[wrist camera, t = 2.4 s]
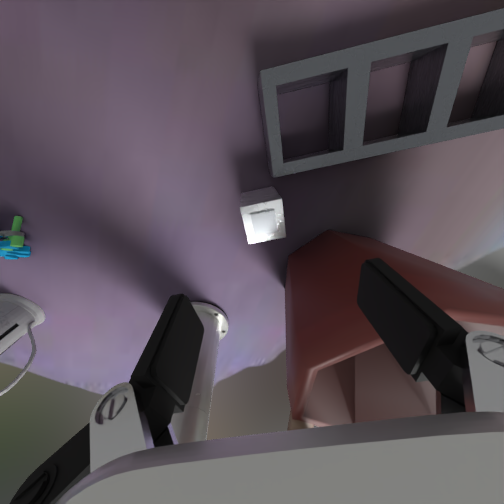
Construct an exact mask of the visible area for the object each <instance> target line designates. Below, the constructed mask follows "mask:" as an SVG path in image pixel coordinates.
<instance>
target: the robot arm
mask: <svg viewBox="0 0 504 504" xmlns="http://www.w3.org/2000/svg"><path fill="white" fill-rule="evenodd" d="M357 304H358V306H359V308H360V309H361V311H362V312H363V314H364V315H365V316H366V318H367V319H368V321H369V322H370V324H371V325H372V326H373V328H374V329H375V331H376V332H377V333H378V335H379V336H380V338H381V339H382V341H383V342H384V343H385V345H386V346H387V348H388V349H389V351H390V352H391V353H392V355H393V356H394V358H395V359H396V361H397V362H398V363H399V365H400V366H401V368H402V369H403V370H404V372H405V373H406V374H408V375H411V376H412V378H413V379H414V380H415V382H422V381H429V382H430V383H431V384H432V386H433V387H434V388H435V389H436V415H426V416H415V417H406V418H396V419H387V420H378V421H369V422H360V423H351V424H342V425H333V426H324V427H316V428H307V429H298V430H289V431H281V432H272V433H264V434H256V435H247V436H238V437H230V438H222V439H213V440H206V437H207V429H208V421H209V414H210V405H211V399H212V391H213V384H214V376H215V368H216V361H217V353H218V346H219V340H220V339H222V338H223V337H224V336H225V335H226V333H227V331H228V326H229V323H228V319H227V316H226V315H225V314H224V312H222V311H221V310H220V309H219V308H217V307H215V306H213V305H211V304H207V303H203V302H190V300H189V298H188V297H187V296H185V295H184V294H177V295H172V296H171V297H170V299H169V301H168V303H167V305H166V307H165V309H164V311H163V313H162V315H161V317H160V319H159V321H158V323H157V325H156V327H155V329H154V331H153V333H152V335H151V337H150V339H149V341H148V343H147V345H146V347H145V349H144V351H143V353H142V355H141V357H140V359H139V361H138V363H137V365H136V367H135V369H134V371H133V373H132V375H131V379H130V381H129V383H128V382H125V383H120V384H117V385H116V386H114V387H113V388H111V389H110V390H109V391H107V392H106V393H105V394H104V395H103V397H102V398H101V399H100V400H99V401H98V403H97V404H96V406H95V408H94V409H93V412H92V414H91V418H90V423H88V424H87V425H86V426H85V427H84V428H83V429H82V430H80V431H79V432H78V433H77V434H76V435H75V436H74V437H72V438H71V439H70V440H69V441H68V442H67V443H66V444H64V445H63V446H62V447H61V448H60V449H59V450H58V451H56V452H55V453H54V454H53V455H52V456H51V457H50V458H48V459H47V460H46V461H45V462H44V463H43V464H42V465H40V466H39V467H38V468H37V469H36V470H35V471H34V472H33V473H32V474H31V475H30V476H29V477H28V478H27V479H26V481H25V482H24V483H23V484H22V486H21V487H20V488H19V490H18V491H17V493H16V494H15V496H14V497H13V499H12V500H11V502H10V504H504V336H502V335H499V334H496V333H492V332H488V331H473V332H470V333H468V332H467V331H466V330H465V329H464V328H463V327H462V326H461V325H460V324H458V323H457V322H456V321H455V320H454V319H452V318H451V317H450V316H449V315H448V314H446V313H445V312H444V311H443V310H442V309H440V308H439V307H438V306H437V305H436V304H434V303H433V302H432V301H431V300H430V299H429V298H427V297H426V296H425V295H424V294H423V293H421V292H420V291H419V290H418V289H417V288H415V287H414V286H413V285H412V284H411V283H409V282H408V281H407V280H406V279H405V278H403V277H402V276H401V275H400V274H399V273H397V272H396V271H395V270H394V269H393V268H391V267H390V266H389V265H388V264H387V263H385V262H384V261H383V260H382V259H380V258H373V259H367V260H365V261H364V263H362V265H361V271H360V279H359V287H358V294H357Z"/></svg>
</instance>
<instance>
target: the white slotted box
mask: <svg viewBox="0 0 504 504" xmlns="http://www.w3.org/2000/svg"><path fill="white" fill-rule="evenodd" d="M240 210H241V214H242V218H243V223H244V227H245V231H246V235H247V240H248V244H252V243H257V242H263V241H268V240H273V239H278V238H284V237H286V230H285V221H284V212H283V203H282V198H281V197H280V195H279V194H278V193H277V191H276V190H275V188H274V187H273V186H272V187H267V188H263V189H258V190H253V191H249V192H244V193H241V201H240Z"/></svg>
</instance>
